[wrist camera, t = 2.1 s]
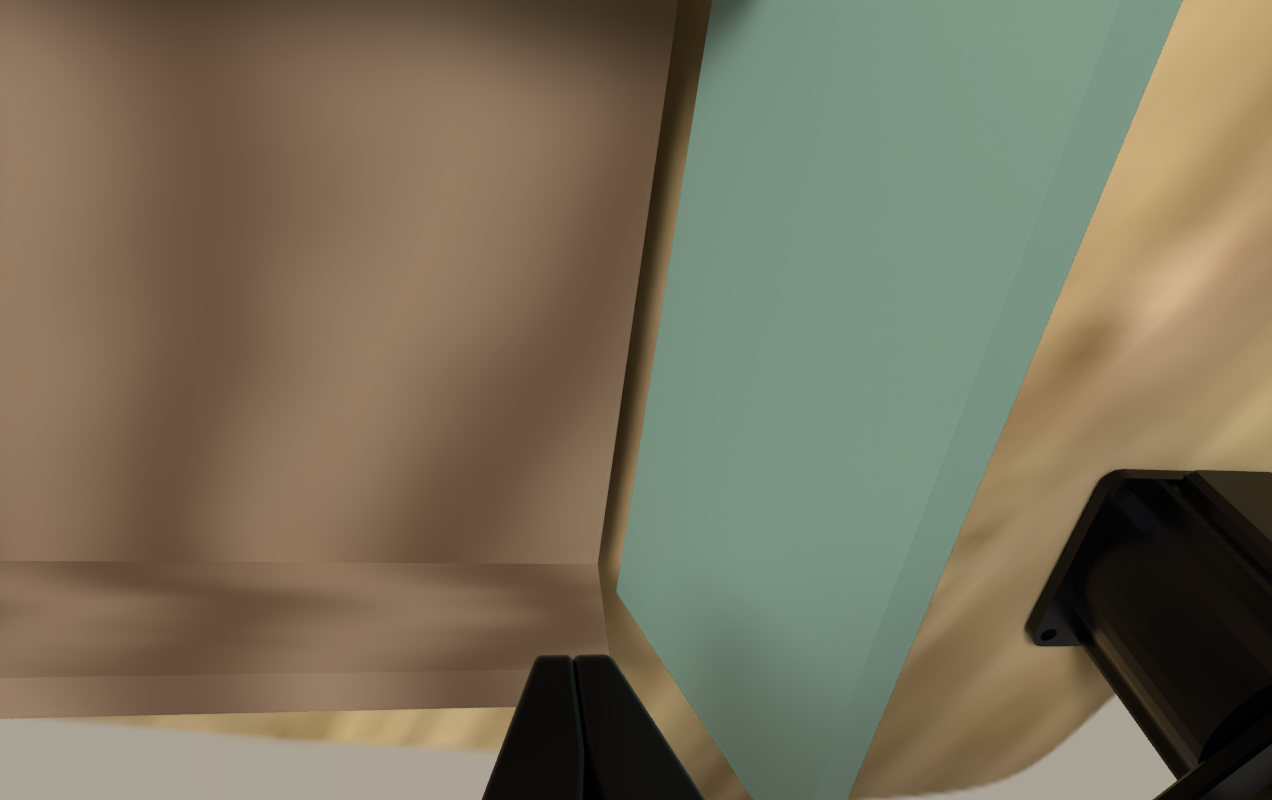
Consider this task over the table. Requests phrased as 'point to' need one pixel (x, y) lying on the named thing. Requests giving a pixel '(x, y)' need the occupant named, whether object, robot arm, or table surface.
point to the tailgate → (854, 339)
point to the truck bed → (312, 344)
